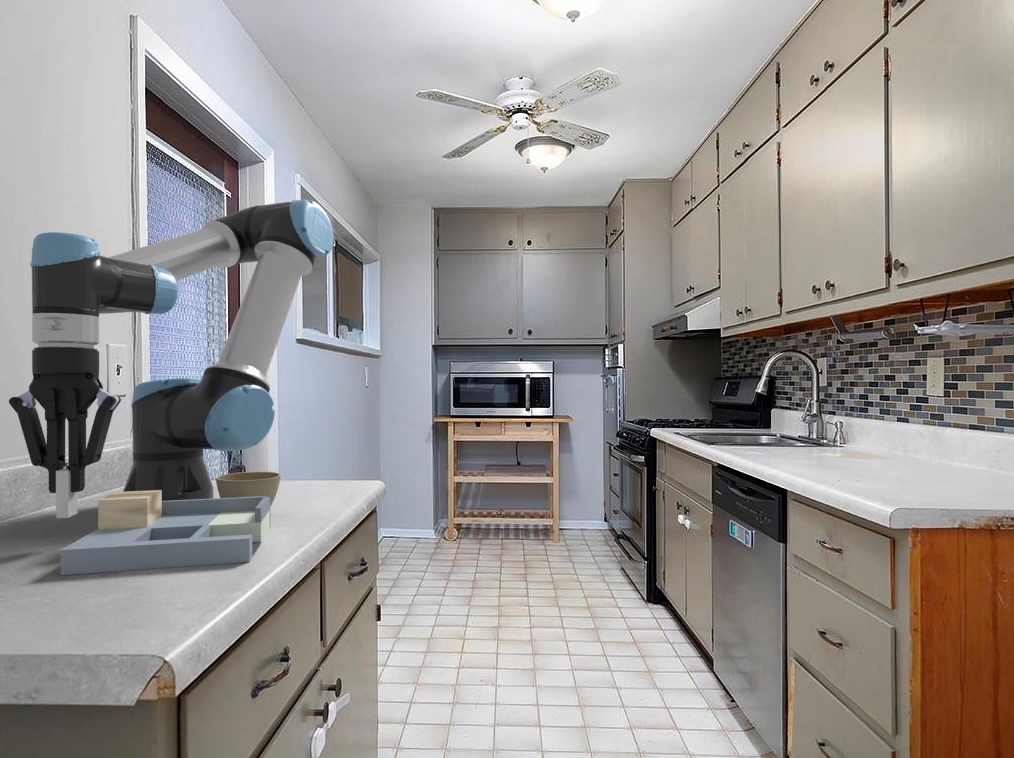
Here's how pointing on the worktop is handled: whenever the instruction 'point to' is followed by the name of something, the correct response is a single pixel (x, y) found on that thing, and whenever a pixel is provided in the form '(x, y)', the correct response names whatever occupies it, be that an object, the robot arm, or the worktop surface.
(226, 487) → the tan bowl
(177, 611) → the worktop surface
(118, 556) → the tray
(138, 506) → the block
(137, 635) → the worktop surface
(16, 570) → the worktop surface
